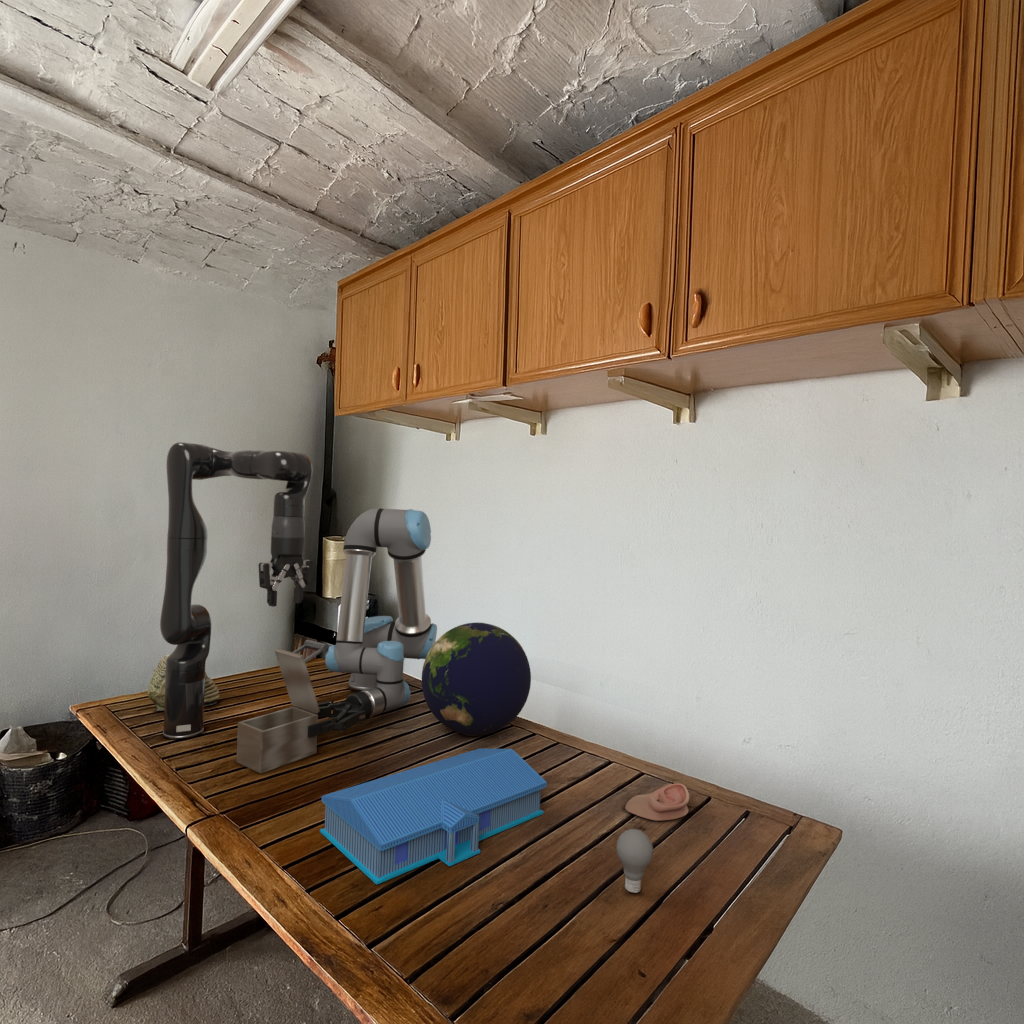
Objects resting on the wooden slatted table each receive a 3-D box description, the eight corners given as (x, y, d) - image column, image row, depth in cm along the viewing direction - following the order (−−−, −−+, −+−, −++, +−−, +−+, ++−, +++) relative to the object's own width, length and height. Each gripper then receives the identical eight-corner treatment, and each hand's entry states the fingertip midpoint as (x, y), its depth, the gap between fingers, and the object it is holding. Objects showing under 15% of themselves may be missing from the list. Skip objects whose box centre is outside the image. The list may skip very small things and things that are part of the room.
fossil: (144, 707, 182) (145, 655, 182) (212, 696, 194) (213, 647, 194) (151, 716, 175) (153, 662, 175) (221, 703, 188) (223, 653, 188)
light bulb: (610, 879, 108) (613, 822, 108) (644, 879, 109) (647, 822, 109) (619, 902, 102) (622, 840, 102) (655, 901, 103) (658, 840, 103)
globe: (398, 740, 166) (402, 626, 165) (451, 707, 194) (455, 609, 193) (502, 762, 155) (508, 640, 154) (543, 724, 182) (548, 620, 182)
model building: (386, 894, 102) (389, 832, 102) (318, 830, 120) (320, 778, 120) (555, 819, 128) (557, 770, 128) (478, 776, 146) (480, 733, 146)
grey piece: (299, 657, 150) (329, 637, 158) (274, 650, 156) (304, 631, 163) (316, 713, 155) (345, 692, 163) (291, 705, 161) (320, 684, 168)
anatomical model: (625, 797, 130) (626, 774, 142) (624, 816, 131) (626, 791, 142) (692, 806, 128) (688, 782, 139) (691, 826, 128) (687, 800, 139)
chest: (260, 773, 143) (262, 732, 143) (236, 762, 149) (237, 722, 148) (316, 753, 156) (318, 714, 156) (292, 743, 161) (293, 706, 161)
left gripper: (271, 537, 144) (268, 610, 144) (322, 535, 156) (319, 603, 156) (251, 534, 148) (249, 605, 148) (302, 533, 160) (300, 599, 160)
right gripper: (392, 728, 168) (324, 753, 150) (336, 709, 181) (267, 731, 162) (393, 700, 168) (325, 722, 150) (337, 683, 181) (268, 702, 162)
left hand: (285, 604), depth 152 cm, fingers open, 6 cm apart
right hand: (295, 726), depth 156 cm, fingers closed on chest, 10 cm apart
